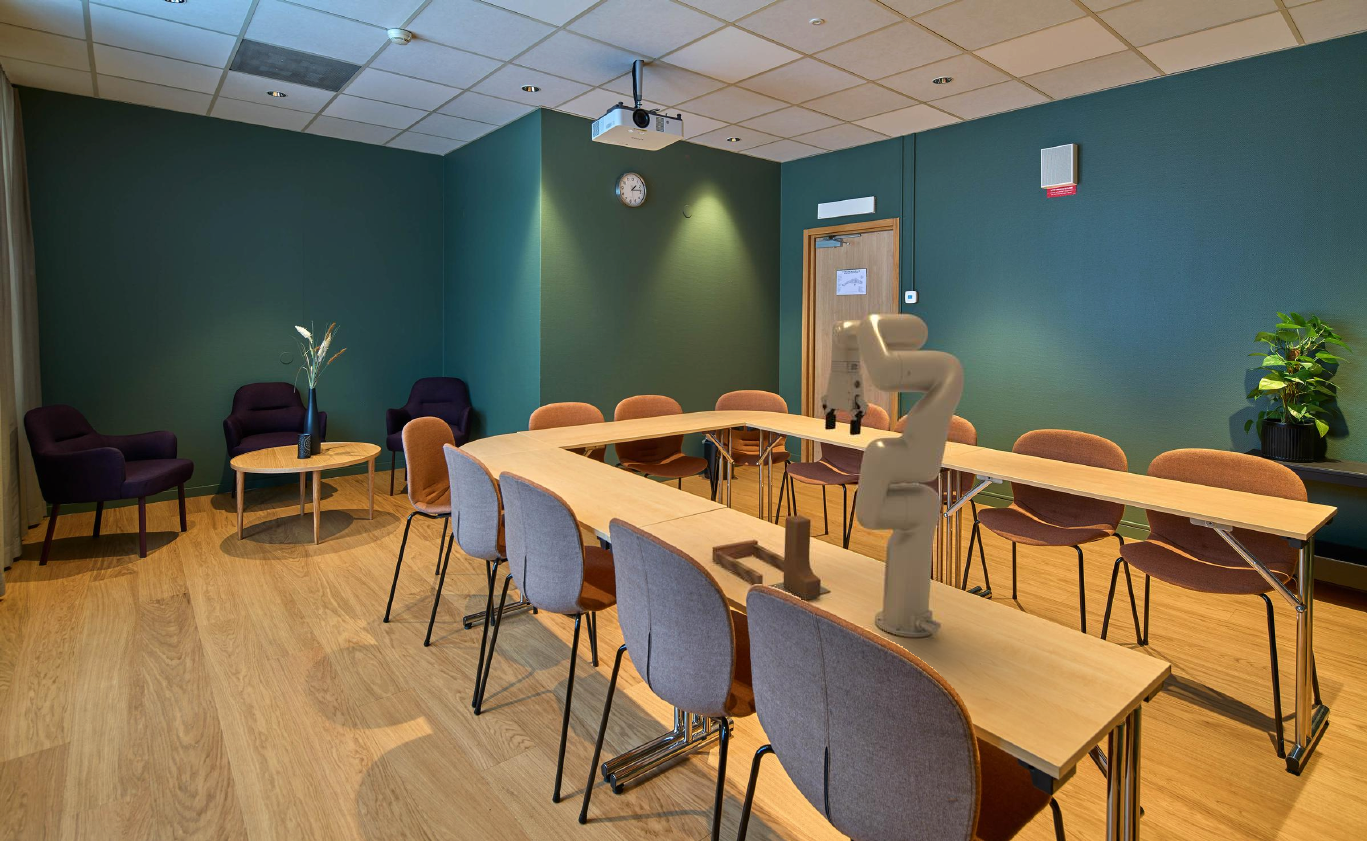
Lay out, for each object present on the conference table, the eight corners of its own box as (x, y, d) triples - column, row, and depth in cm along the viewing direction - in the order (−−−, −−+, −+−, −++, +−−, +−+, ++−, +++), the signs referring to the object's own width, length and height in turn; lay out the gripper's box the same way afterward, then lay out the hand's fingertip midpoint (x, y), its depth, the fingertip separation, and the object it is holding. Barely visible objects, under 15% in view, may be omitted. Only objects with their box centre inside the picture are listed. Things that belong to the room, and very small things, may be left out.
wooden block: (820, 597, 169) (823, 524, 166) (805, 600, 167) (808, 526, 164) (797, 584, 176) (799, 514, 174) (782, 587, 174) (784, 517, 172)
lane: (802, 577, 182) (802, 563, 181) (757, 587, 175) (757, 572, 175) (754, 553, 201) (754, 539, 200) (712, 561, 194) (712, 547, 193)
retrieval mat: (830, 592, 173) (830, 590, 172) (784, 603, 166) (784, 601, 166) (804, 579, 181) (804, 577, 181) (759, 588, 174) (759, 587, 174)
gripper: (879, 369, 181) (876, 435, 183) (834, 365, 195) (831, 426, 198) (857, 370, 177) (854, 437, 179) (812, 366, 192) (810, 428, 194)
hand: (842, 431), depth 189 cm, fingers open, 9 cm apart
